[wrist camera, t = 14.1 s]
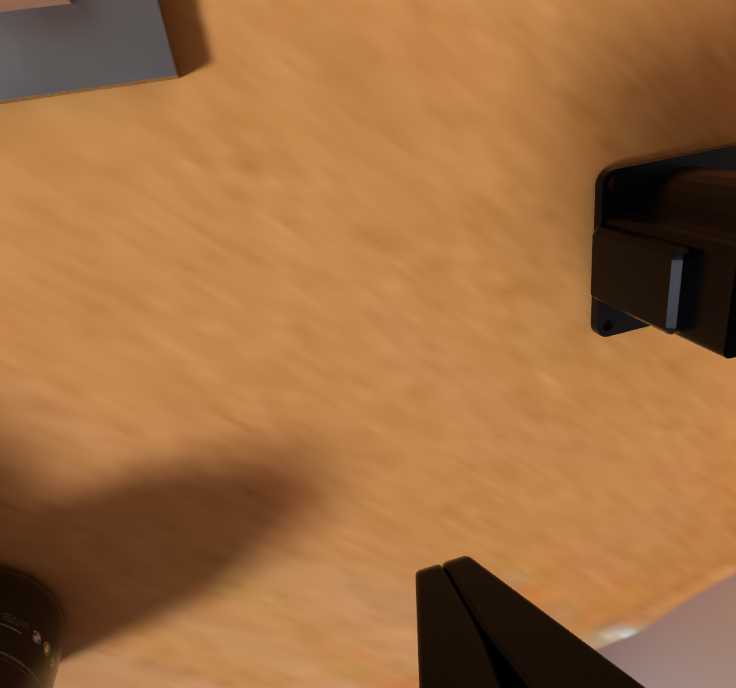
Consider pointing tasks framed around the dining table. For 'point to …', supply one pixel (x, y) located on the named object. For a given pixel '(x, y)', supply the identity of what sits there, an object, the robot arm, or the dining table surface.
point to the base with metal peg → (82, 48)
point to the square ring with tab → (29, 4)
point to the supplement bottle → (28, 633)
